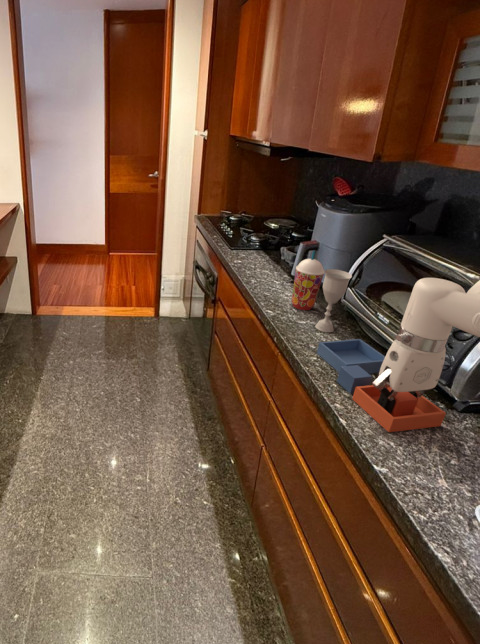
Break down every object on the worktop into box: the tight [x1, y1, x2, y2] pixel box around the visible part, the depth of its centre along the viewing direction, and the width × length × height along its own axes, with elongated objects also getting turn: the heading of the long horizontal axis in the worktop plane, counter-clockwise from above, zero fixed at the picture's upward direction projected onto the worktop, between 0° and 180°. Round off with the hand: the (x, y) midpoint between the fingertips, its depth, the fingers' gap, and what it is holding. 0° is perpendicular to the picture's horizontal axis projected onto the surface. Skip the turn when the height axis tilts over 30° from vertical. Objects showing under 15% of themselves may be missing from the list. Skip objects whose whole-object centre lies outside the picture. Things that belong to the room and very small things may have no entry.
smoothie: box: [291, 250, 325, 311], centre depth 127 cm, size 8×8×20 cm
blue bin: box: [316, 338, 386, 375], centre depth 101 cm, size 12×10×4 cm
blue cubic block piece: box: [336, 365, 373, 395], centre depth 92 cm, size 4×4×4 cm
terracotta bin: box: [351, 384, 447, 433], centre depth 84 cm, size 12×10×4 cm
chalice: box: [314, 268, 353, 333], centre depth 115 cm, size 7×7×18 cm
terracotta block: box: [377, 387, 418, 417], centre depth 84 cm, size 4×4×4 cm
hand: (394, 408), depth 85 cm, fingers closed on terracotta block, 4 cm apart
